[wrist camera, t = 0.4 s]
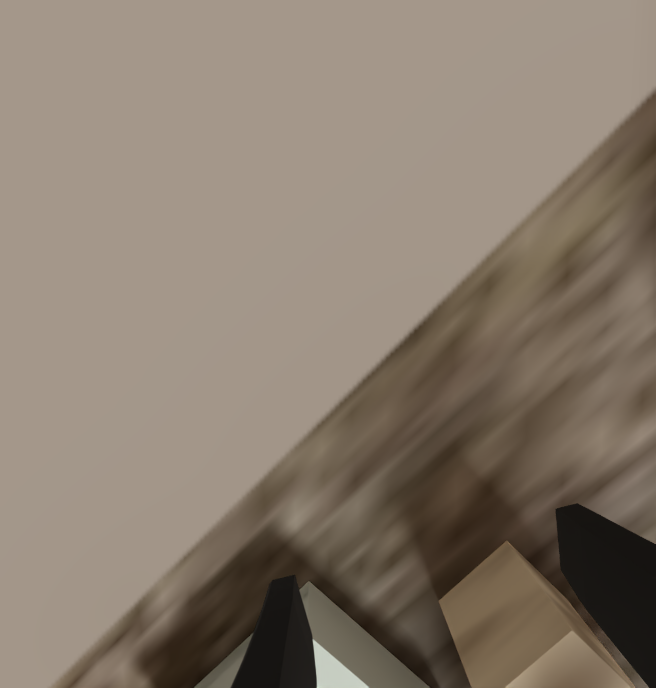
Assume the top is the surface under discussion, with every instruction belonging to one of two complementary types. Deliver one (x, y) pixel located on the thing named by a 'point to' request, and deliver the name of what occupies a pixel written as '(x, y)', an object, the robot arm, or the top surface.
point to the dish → (332, 652)
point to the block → (523, 630)
